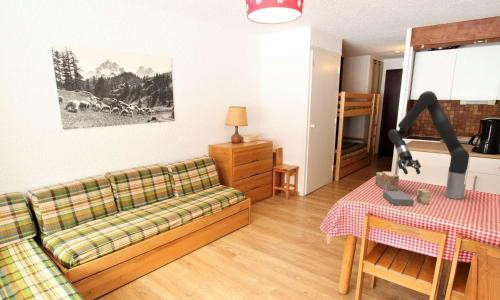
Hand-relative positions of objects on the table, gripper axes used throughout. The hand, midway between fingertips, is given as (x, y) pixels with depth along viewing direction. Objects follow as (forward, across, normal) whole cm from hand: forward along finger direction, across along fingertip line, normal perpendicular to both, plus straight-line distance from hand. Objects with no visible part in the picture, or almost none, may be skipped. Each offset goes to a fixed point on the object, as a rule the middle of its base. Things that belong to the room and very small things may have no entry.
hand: (412, 173), depth 183 cm
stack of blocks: (-1, -6, +24) cm, 25 cm away
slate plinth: (+17, -14, +5) cm, 23 cm away
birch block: (+19, 0, +3) cm, 20 cm away
